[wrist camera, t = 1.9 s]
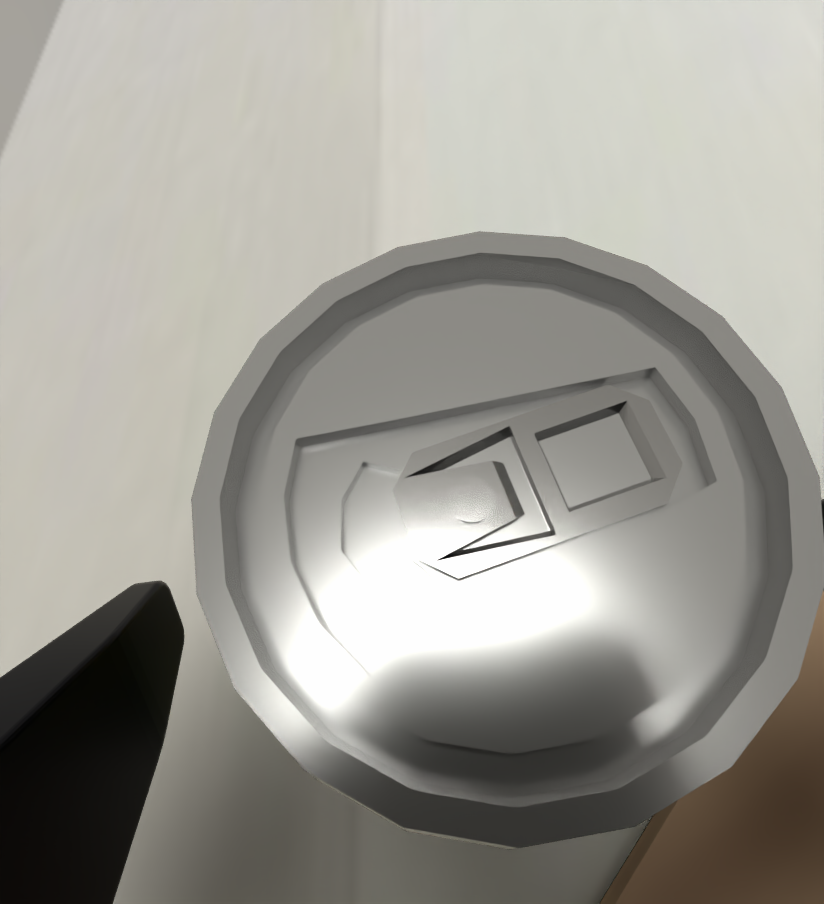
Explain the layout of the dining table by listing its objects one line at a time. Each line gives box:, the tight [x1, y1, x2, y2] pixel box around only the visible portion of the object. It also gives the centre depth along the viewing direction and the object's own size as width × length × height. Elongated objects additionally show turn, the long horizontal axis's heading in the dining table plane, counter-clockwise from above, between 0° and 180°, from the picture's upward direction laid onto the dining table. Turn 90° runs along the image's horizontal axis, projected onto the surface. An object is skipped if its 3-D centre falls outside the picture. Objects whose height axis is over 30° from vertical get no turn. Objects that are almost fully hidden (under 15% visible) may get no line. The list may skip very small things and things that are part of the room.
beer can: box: [191, 232, 824, 850], centre depth 11 cm, size 5×5×12 cm
